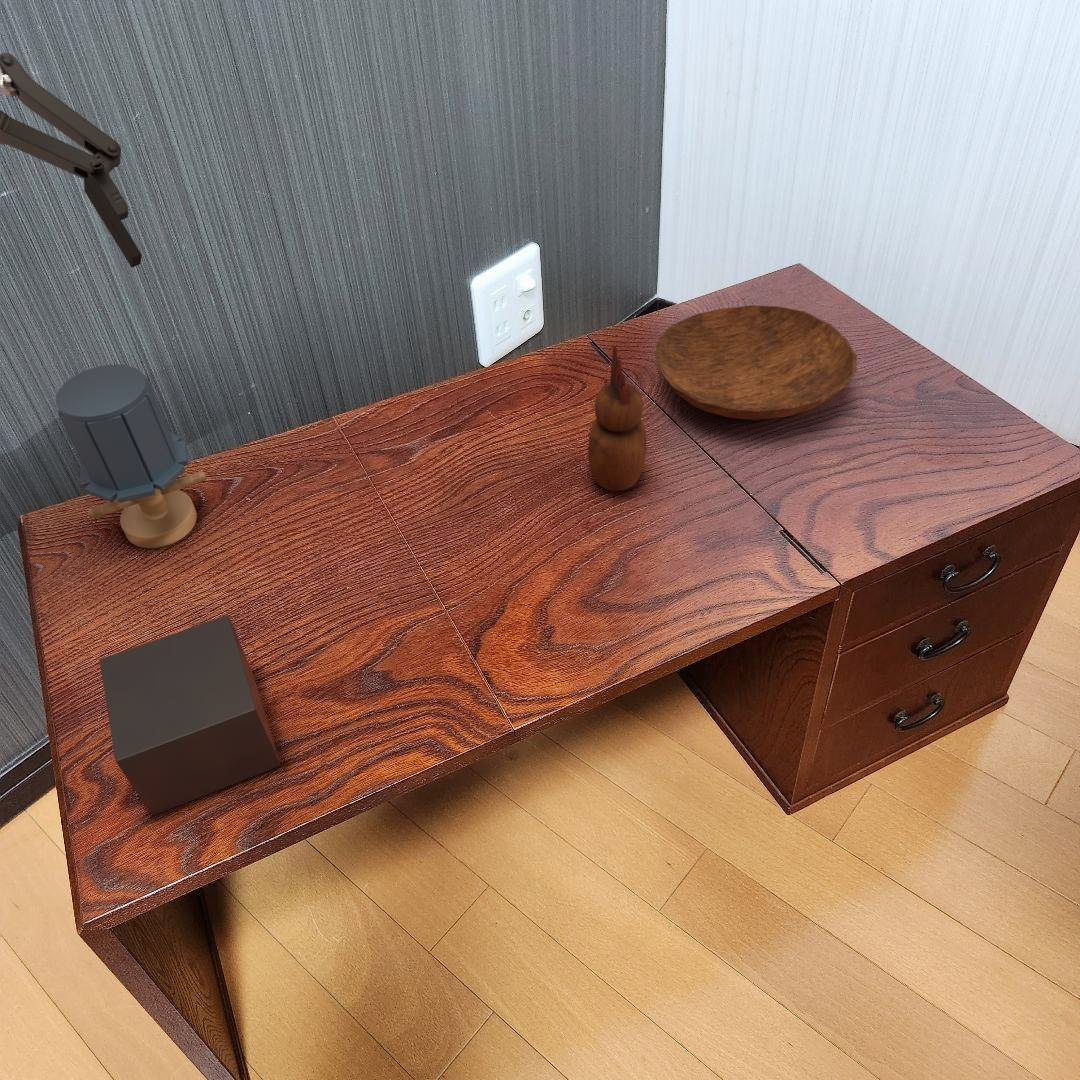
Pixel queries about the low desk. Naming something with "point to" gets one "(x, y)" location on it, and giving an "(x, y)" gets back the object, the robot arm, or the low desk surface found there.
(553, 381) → the low desk surface
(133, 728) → the riser
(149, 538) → the hat stand
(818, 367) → the bowl
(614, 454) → the wooden figurine
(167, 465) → the hat
